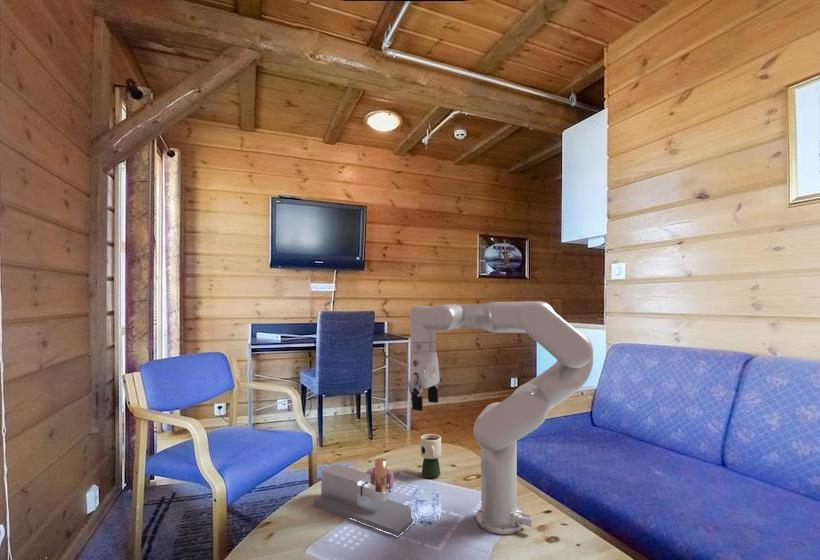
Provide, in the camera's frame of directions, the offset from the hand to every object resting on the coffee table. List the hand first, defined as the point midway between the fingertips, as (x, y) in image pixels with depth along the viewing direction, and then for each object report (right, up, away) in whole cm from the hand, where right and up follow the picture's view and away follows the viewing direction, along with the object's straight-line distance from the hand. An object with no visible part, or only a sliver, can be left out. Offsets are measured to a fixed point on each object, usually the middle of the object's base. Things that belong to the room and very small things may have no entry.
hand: (425, 406), depth 119 cm
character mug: (+3, -30, +19) cm, 36 cm away
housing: (-24, -28, +1) cm, 36 cm away
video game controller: (-15, -30, +11) cm, 35 cm away
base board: (-17, -29, -4) cm, 34 cm away
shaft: (-20, -24, -2) cm, 31 cm away
